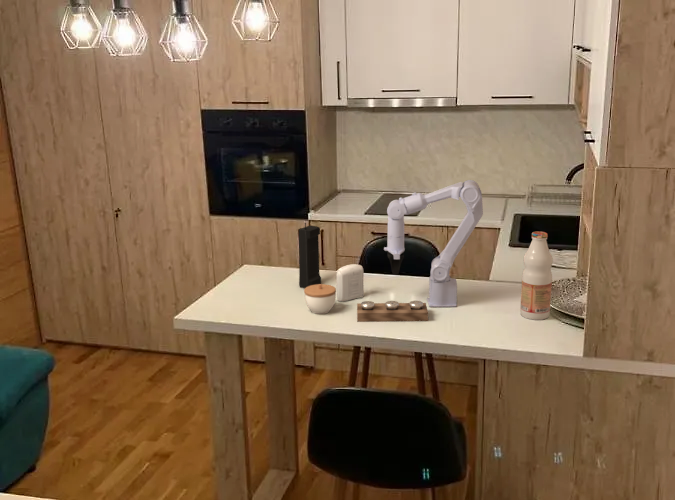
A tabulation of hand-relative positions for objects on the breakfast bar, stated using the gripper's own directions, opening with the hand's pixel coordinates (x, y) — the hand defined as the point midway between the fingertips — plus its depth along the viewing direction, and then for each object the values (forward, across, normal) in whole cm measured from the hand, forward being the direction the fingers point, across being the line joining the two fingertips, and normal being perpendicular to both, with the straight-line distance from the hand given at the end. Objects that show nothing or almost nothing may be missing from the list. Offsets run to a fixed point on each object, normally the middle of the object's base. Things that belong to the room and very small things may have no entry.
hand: (395, 273), depth 251 cm
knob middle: (+10, +14, -2) cm, 17 cm away
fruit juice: (+10, +14, +45) cm, 48 cm away
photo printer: (+11, -4, -16) cm, 20 cm away
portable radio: (+11, -18, -31) cm, 37 cm away
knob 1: (+10, +14, -10) cm, 20 cm away
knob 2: (+10, +14, +6) cm, 18 cm away
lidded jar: (+11, +8, -26) cm, 29 cm away
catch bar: (+10, +14, -2) cm, 18 cm away
